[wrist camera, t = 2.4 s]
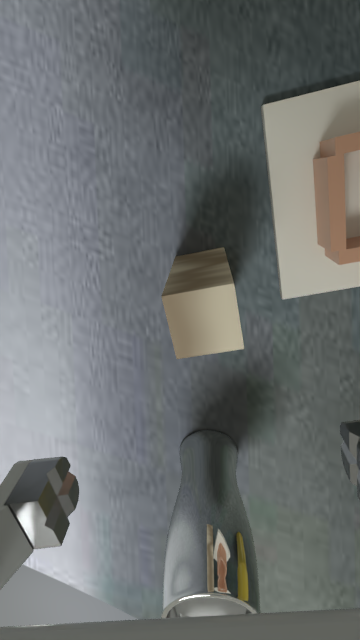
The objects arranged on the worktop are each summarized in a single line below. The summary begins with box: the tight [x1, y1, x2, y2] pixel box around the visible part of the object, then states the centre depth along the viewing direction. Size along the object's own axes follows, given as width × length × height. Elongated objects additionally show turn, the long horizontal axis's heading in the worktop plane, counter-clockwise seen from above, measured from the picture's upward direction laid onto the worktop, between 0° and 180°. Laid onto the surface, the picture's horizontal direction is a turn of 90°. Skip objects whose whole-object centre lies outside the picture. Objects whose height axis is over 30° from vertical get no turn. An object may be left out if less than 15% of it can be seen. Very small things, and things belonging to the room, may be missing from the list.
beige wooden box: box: [162, 247, 244, 359], centre depth 24 cm, size 4×4×10 cm
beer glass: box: [161, 430, 261, 618], centre depth 29 cm, size 7×7×15 cm
